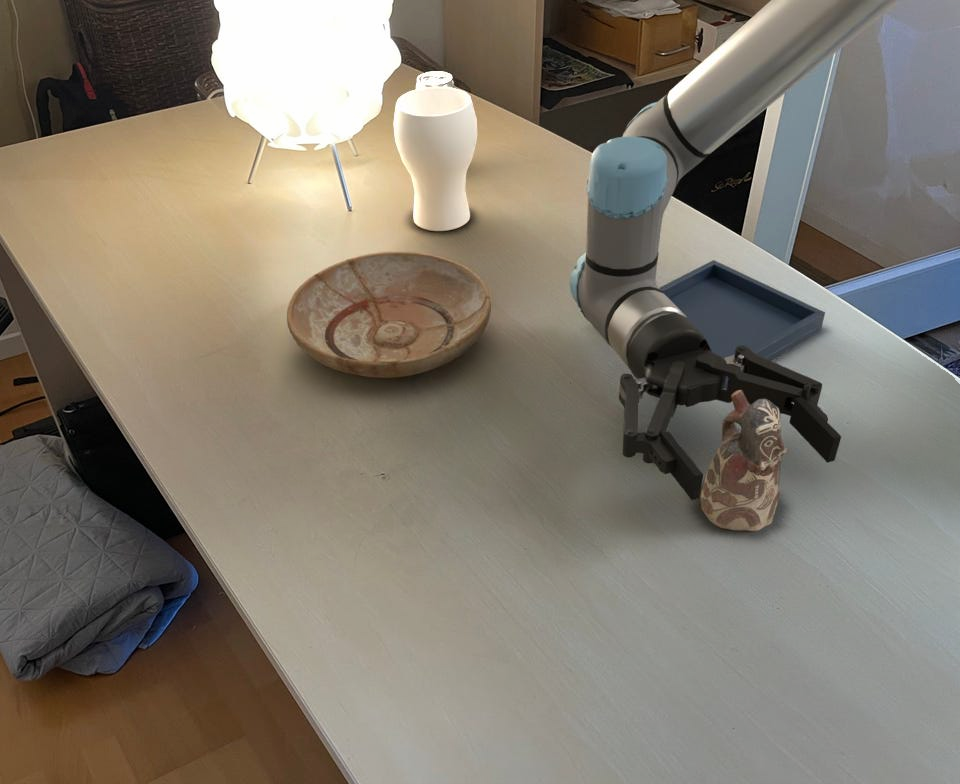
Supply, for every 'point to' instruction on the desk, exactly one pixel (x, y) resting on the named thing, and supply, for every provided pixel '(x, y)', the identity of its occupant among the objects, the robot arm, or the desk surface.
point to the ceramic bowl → (389, 313)
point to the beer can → (434, 80)
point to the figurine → (745, 467)
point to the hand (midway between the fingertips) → (767, 468)
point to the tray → (742, 312)
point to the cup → (437, 152)
